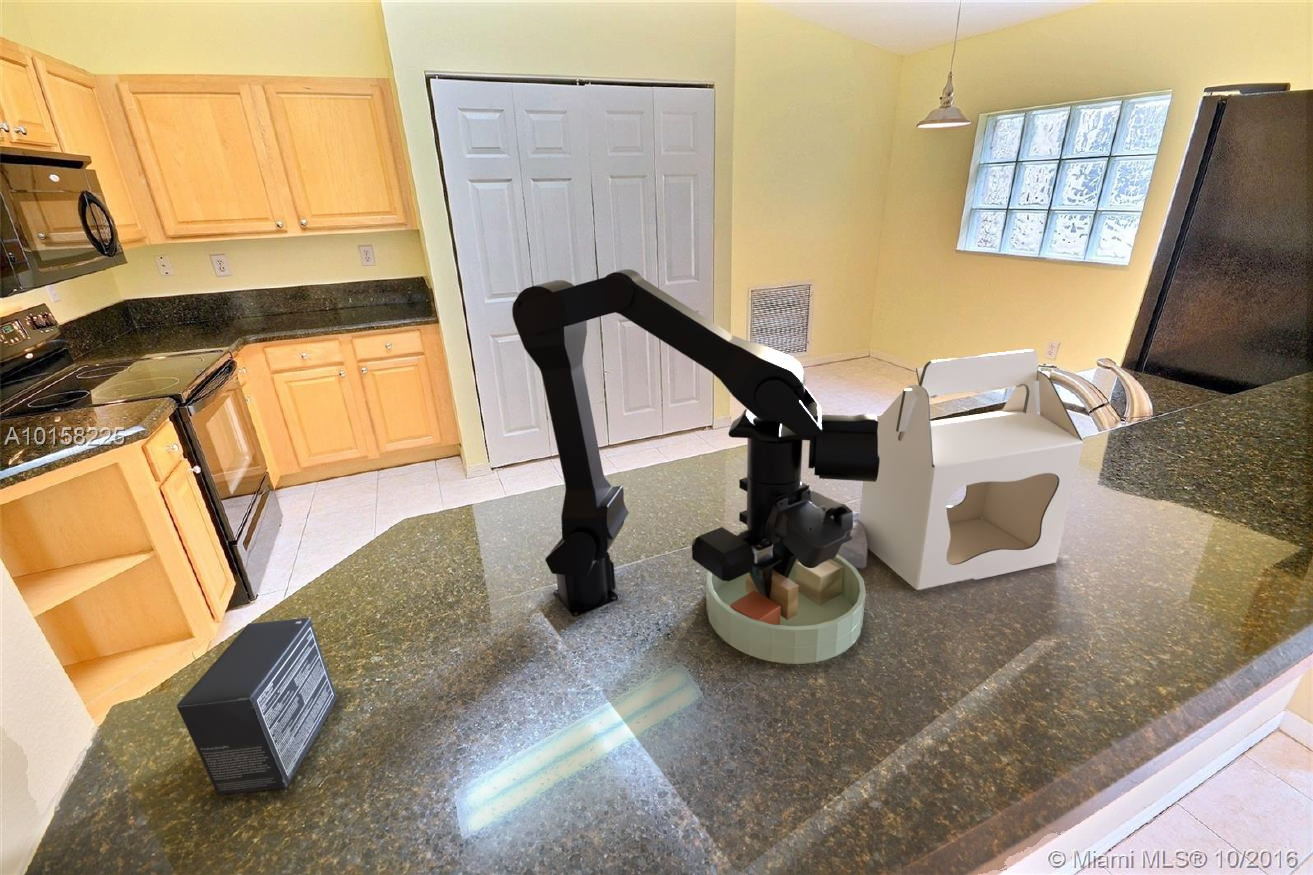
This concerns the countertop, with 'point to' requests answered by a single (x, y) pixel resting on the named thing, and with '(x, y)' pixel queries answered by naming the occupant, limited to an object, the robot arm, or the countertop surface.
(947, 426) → the gable box
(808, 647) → the bowl
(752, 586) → the oak wood brick
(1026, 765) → the countertop surface
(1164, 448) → the countertop surface
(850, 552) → the stone block
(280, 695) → the small box
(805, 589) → the cream block
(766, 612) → the terracotta block
